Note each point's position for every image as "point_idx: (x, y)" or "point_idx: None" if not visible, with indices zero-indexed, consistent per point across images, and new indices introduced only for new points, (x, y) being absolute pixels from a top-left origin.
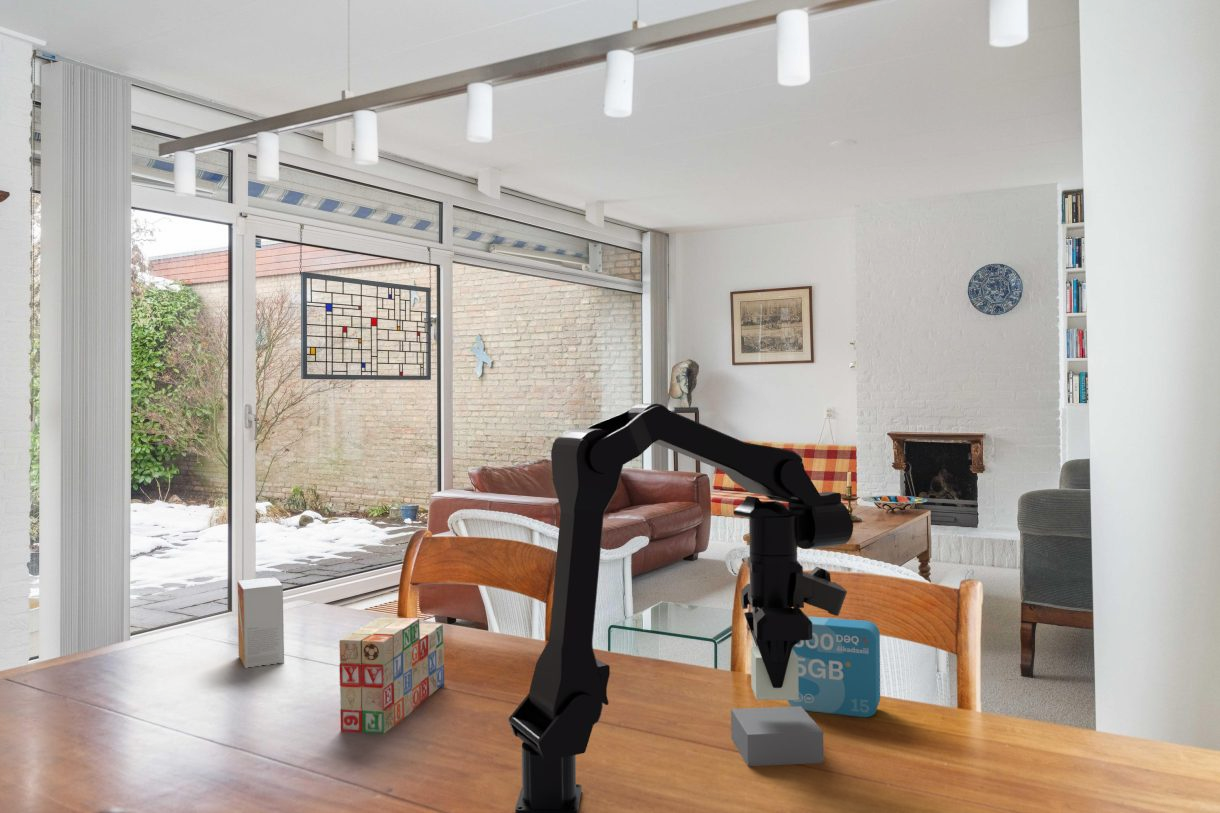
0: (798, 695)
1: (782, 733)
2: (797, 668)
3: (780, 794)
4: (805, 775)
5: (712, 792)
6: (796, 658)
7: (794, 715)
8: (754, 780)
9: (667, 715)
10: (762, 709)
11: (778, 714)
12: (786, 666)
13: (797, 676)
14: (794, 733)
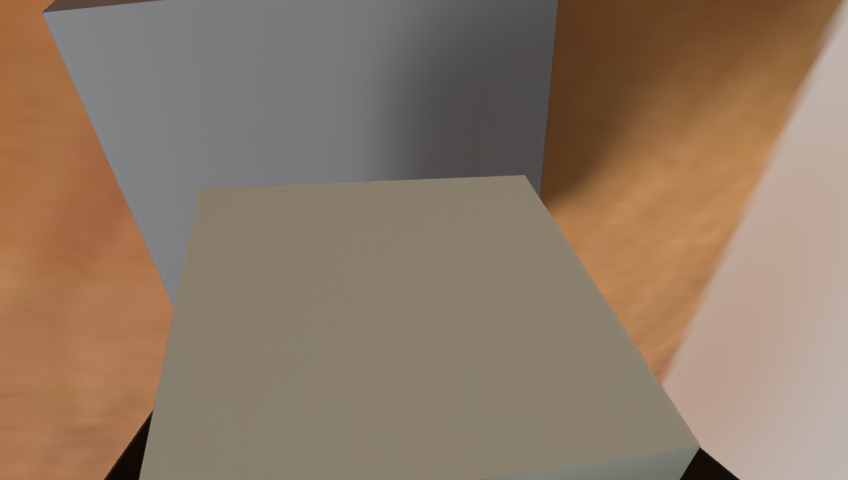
0: (532, 192)
1: (540, 181)
2: (636, 353)
3: (724, 151)
4: (612, 42)
5: (645, 311)
6: (692, 452)
7: (264, 89)
8: (604, 216)
9: (4, 455)
10: (179, 247)
11: (257, 176)
12: (708, 458)
13: (600, 296)
14: (545, 126)
